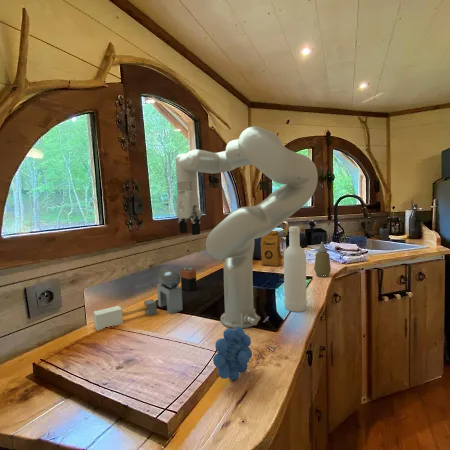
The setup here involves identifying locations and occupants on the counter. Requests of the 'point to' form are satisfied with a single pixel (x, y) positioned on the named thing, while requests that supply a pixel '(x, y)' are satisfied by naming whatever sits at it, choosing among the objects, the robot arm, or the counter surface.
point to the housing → (169, 291)
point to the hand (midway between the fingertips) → (189, 233)
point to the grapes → (232, 353)
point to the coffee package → (271, 249)
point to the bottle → (295, 273)
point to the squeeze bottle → (322, 262)
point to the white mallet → (120, 314)
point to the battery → (188, 279)
